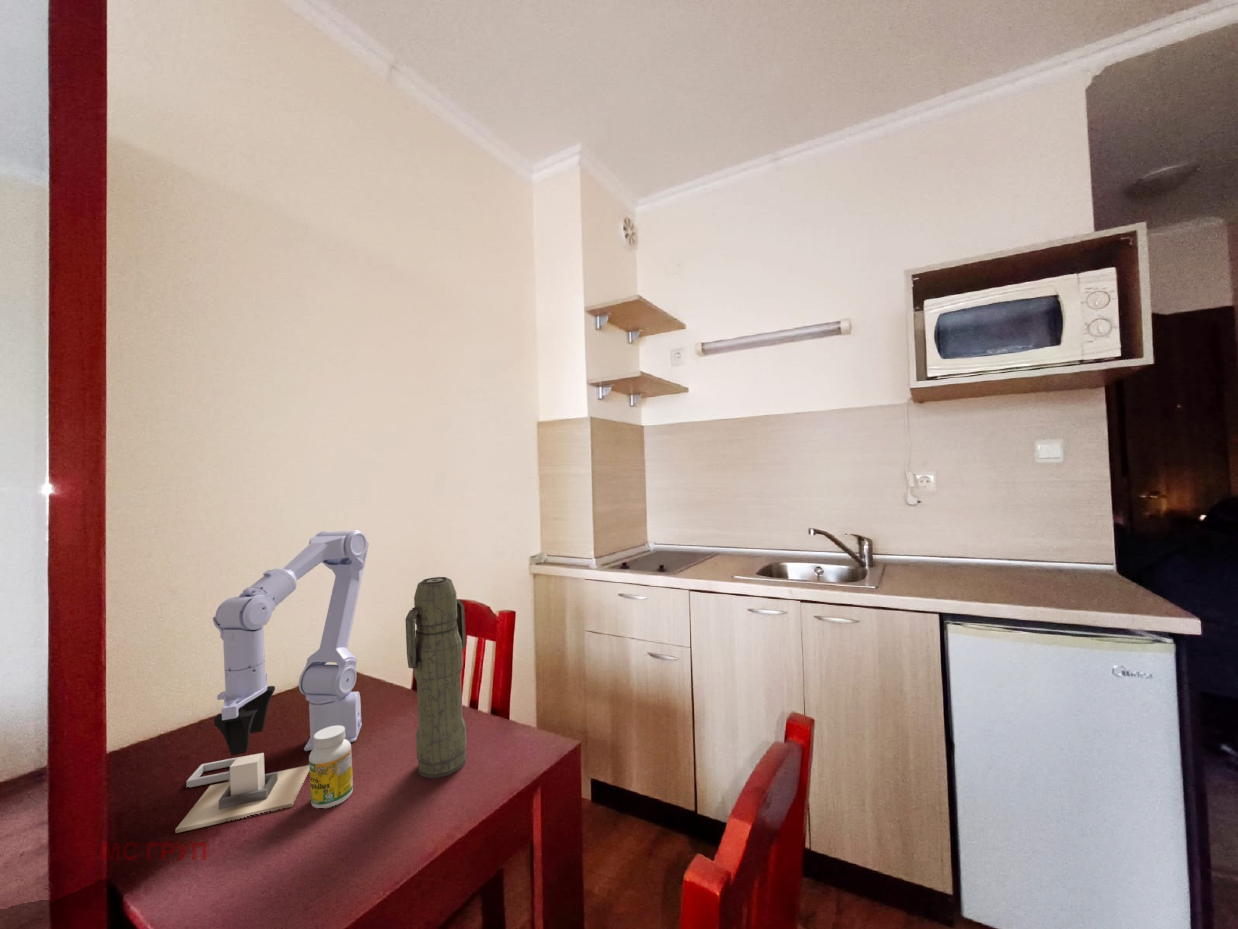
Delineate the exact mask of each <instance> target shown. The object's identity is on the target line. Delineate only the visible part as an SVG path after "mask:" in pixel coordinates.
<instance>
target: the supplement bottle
mask: <svg viewBox="0 0 1238 929" xmlns="http://www.w3.org/2000/svg"><path fill="white" fill-rule="evenodd" d="M313 744H314V746H315V748H314V749H313V750H310V751H311V752H310V754H309V756H308V765H309V769H310V771H309V784H310V785H309V787H310V788H309V790H310V791H309V792H310V803H311V806H312V807H313V808H315V809H318V808H324V809H328V808H333V807H336V806H338V805H340V804H342V803H343V802H345V801H346V800H347V799H349V798H350V796H351V795H352V793H353V790H354V781H353V780H354V779H353V778H354V777H353V776H354V774H353V756H352V744H351V742H349V741H348V740H346V739H345V728H344V727H343V726H339V725H337V726H330V727H327V728H324V729H322V730H320V731H318V732H317V733H316V734H315V735H314V743H313ZM335 805H336V806H335ZM332 806H333V807H332Z"/></svg>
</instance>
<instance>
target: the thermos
mask: <svg viewBox="0 0 1238 929" xmlns="http://www.w3.org/2000/svg"><path fill="white" fill-rule="evenodd" d="M413 597H414V598H413V607H412V608H411V609H410V610H409V611H408V613H407V615H406V617H405V639H406V658H407V666H408V668H409V669H413V677H414V678H415V679H414V680H416V691H417V692H416V694H417V715H418V718H417V719H418V720H417V721H418V725H417V729H416V733H415V740H416V743H415V744H416V745H415V746H416V758H417V762H418V763H417V764H418V766H417V767H418V770H417V771H418V775H420V776H421V777H423V778H427V779H437V778H444V777H447V776H450V775H452V774H454V773H456V772H457V771H459V770H461V769H462V768H463V767H464V766H465V764H466V763H467V753H466V752H467V751H466V749H467V724H466V722H465V719H464V717H463V700H462V675H461V674H462V670H463V666H464V662H463V661H464V660H463V658H464V657H463V651H464V650H465V648H466V646H467V638H466V637H467V634H466V612H465V604H464V603H463V601H462V600H461V599H459V598H458V597H457V590H456V588H455V586H454V584H453V580H452V579H451V578H448V577H446V576H435V577H429V578H425V579H423V580H421V581H420V582H419V581H418V583H417V586H416V589H415V593H414V596H413Z"/></svg>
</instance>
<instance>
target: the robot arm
mask: <svg viewBox="0 0 1238 929" xmlns="http://www.w3.org/2000/svg"><path fill="white" fill-rule="evenodd" d="M369 545H370V543H369V541H368V538H367V537H366V535H365V534H364V532H363V531H361V530H359V529H356V530H355V529H354V530H348V531H347V530H346V531H326V530H322V531H319V532H317V534H316V535H314V536H313V537H311V538H309V541H308V545H307V546H305V548H304V549H303V550H301V551H300V552H299V553H298V554H297V555H296V556H295V557H294V558H293V559H291V561H290V562H289V563H288V564H286V565H285V566H284V567H283V568H274V569H267V570H266V571H264V572H263V574H262V575H263V576H262V577H260V578H259V579H258V580H257V581H256V582H254V583H253V584H252V585H251V586H249V587H246V588H244V589H243V590H242V592H241V593H240V594H239V595H238V596H231V597H228V598H227V599H225V600H224V601H223V602H222V603H221V604H220V605H218V607H217V609H216V611H215V615H214V616H213V617H212V622H213V625H214V626H215V628H216V629H217V630H218V631H219V635H220V636H219V637H220V639H221V640H222V641H223V642H222V644H223V664H224V665H223V668H224V688H225V690H224V691H220V693H218V694H217V696H216V697H217V698H216V700H217V701H221V700H223V707H222V708H221V713H218V714H217V715H215V717H214V718H213V725H214V726H215V727H216V728H217V729H218V730H219V731H220V733H221V734H222V736H223V738H224V740H225V742H226V745H227V747H228V751H229V753H230V756H237V755H242V754H246V753H247V752H248V750H249V745H250V737H251V734H254V733H260V732H263V730H264V727H265V723H266V718H267V713H268V708H269V704H270V703H271V702H270V701H271V699H272V696H273V694H274V693H275V691H276V686H274V685H269V686H268V675H267V673H266V661H265V660H266V658H265V654H266V653H265V633H264V632H265V630H264V627H265V626H267V624H268V623H269V621H270V619H271V618H272V614H273V612H274V611H275V610H276V608H277V606H279V604H281V603H282V602H283V601H284V600H285V599H286V598H287V597H289V595H291V594H292V593H293V592H294V591H295V590H296V589H297V585H298V584H297V583H298V582H297V581H299V579H301V578H303V577H305V575H306V574H307V573H309V572H310V571H312V570H313V569H314V568H315V567H317V566H319V565H320V564H321V563H322V564H323V565H324V566H325V567H327V568H328V570H329V569H330V570H331V571H332V572H333V573H334V575H335V576H334V581H333V586H332V590H331V595H330V599H329V600H330V601H329V604H328V608H327V614H326V618H325V622H324V627H323V631H322V635H321V640H320V645H319V648H318V649H317V650H316V651H315V652H313V653H312V654H311V655H310V656H309V657H307V660H306V664H305V666H304V668H303V670H302V672H301V674H300V675H299V680H298V689H299V690H298V691H299V692H300V693H301V694H302V695H304V696H305V701H308V705H309V707H308V710H309V711H308V712H309V713H308V714H309V730H310V731H309V732H310V733H309V734H310V735H309V736H310V738H309V739H308V742H306V745H305V746H304V748H303V750H304V751H305V752H308V751H312V750H313V749H314V748H315V746H314V744H313V743H314V735H315V734H316V733H317V732H318V731H320V730H322V729H324V728H327V727H330V726H337V725H339V726H343V727H344V728H345V739H346V740H348V741H349V742H350V743H353V742H356V741H357V739H358V736H359V733H360V731H361V728H362V725H363V723H362V706H361V695H360V692H359V691H352V690H353V689H354V687H355V685H356V682H357V662H358V659H357V657H356V656H355V655H354V654H353V653H351V652H350V650H349V649H348V648H349V643H350V638H351V633H352V628H353V623H354V618H355V612H356V607H357V604H358V603H357V602H358V598H359V594H360V589H361V584H362V579H363V573H364V568H365V565H366V559H367V555H368V550H369ZM327 663H328V664H327ZM329 663H335V664H329Z"/></svg>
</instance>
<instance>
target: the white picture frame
mask: <svg viewBox="0 0 1238 929" xmlns="http://www.w3.org/2000/svg"><path fill="white" fill-rule="evenodd" d="M238 757H239V756H238ZM238 757H232V758H227V759H223V760H222V759H221V760H217V761H212V762H211V761H210V762H206V763H202V764H200V765H199V766H198V768H196V770H195V771H194V772H193V773H192V774H191V775H190V777H188V779H187V780H186V783H185V784H186V789H188V788H187V787H189V788H193V787H199V786H202V785H208V784H213V783H218V782H219V783H220V782H222V781H223V782H224V781H229V773H228V771H223V772H219V773H214V774H209V775H204V776H201V775H202V774H203V773H204V772H209V771H213V770H214V771H215V770H219V769H223V768H228V767H229V768H230V766H231V765H232V764H233V762H234V761H235V760H236V759H237V758H238ZM241 757H243V756H241Z"/></svg>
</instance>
